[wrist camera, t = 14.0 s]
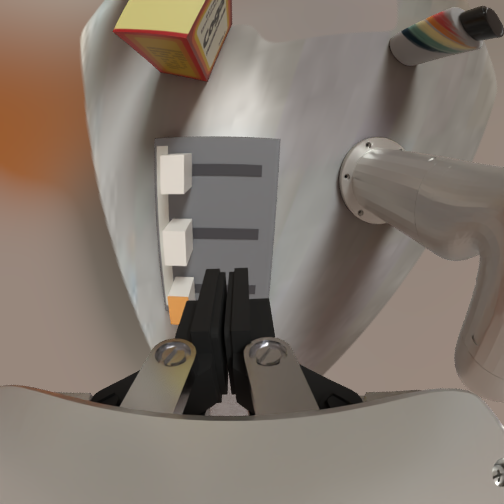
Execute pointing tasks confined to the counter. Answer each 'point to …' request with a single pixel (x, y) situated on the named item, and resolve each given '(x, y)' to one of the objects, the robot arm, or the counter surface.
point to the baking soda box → (177, 33)
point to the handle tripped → (180, 297)
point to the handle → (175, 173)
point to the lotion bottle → (446, 35)
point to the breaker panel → (223, 208)
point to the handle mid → (178, 242)
